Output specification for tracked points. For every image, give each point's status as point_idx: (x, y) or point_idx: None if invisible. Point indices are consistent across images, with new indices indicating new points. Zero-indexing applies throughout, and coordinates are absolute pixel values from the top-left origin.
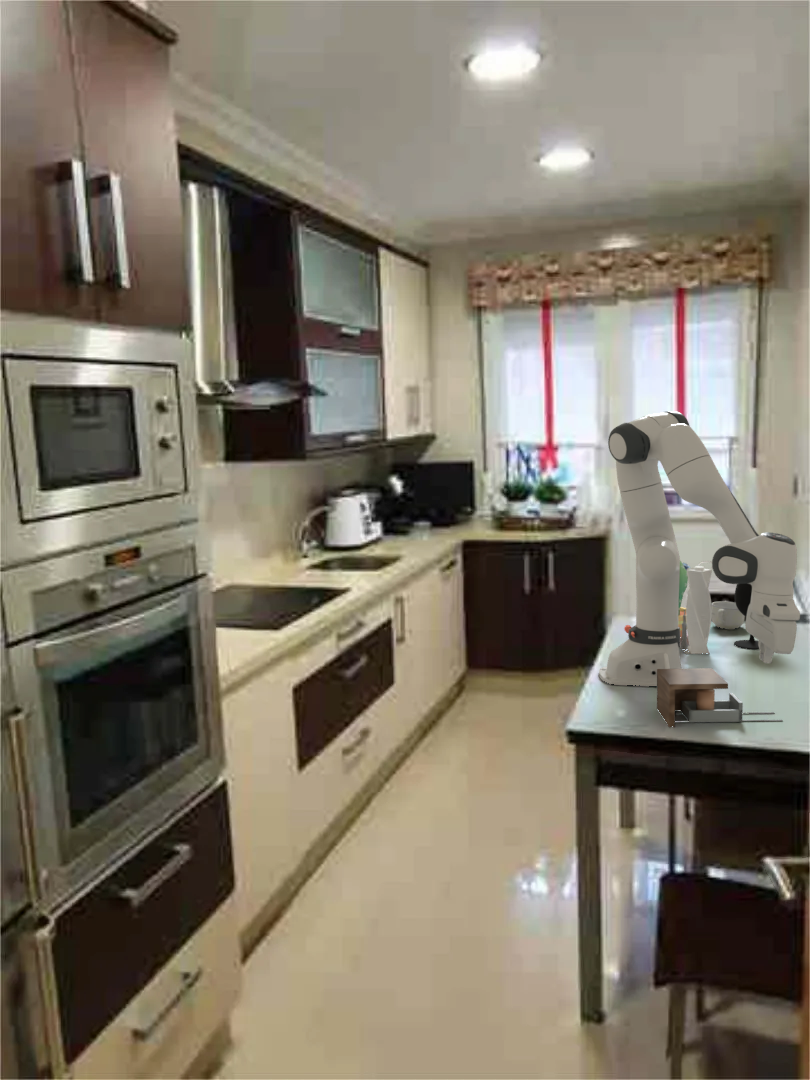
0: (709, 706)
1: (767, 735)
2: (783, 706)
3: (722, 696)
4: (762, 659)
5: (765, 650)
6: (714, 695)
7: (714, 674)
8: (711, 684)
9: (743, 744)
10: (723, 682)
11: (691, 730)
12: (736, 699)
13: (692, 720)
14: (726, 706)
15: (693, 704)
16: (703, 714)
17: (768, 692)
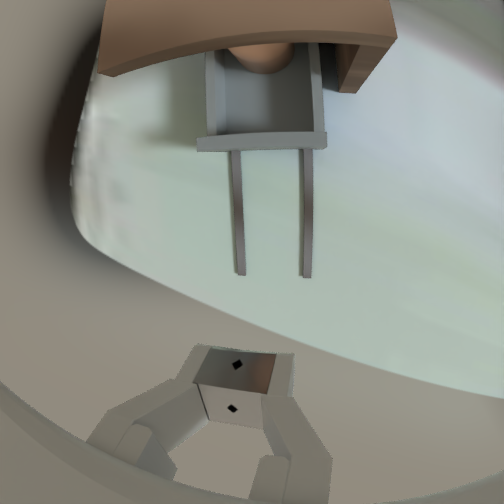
0: None
1: (135, 195)
2: (363, 322)
3: (468, 181)
4: (220, 353)
5: (127, 408)
6: (234, 47)
7: (254, 13)
8: (105, 11)
9: (88, 128)
10: (113, 52)
11: None
12: (237, 136)
13: None
14: (313, 124)
15: None
16: None
17: (465, 321)
